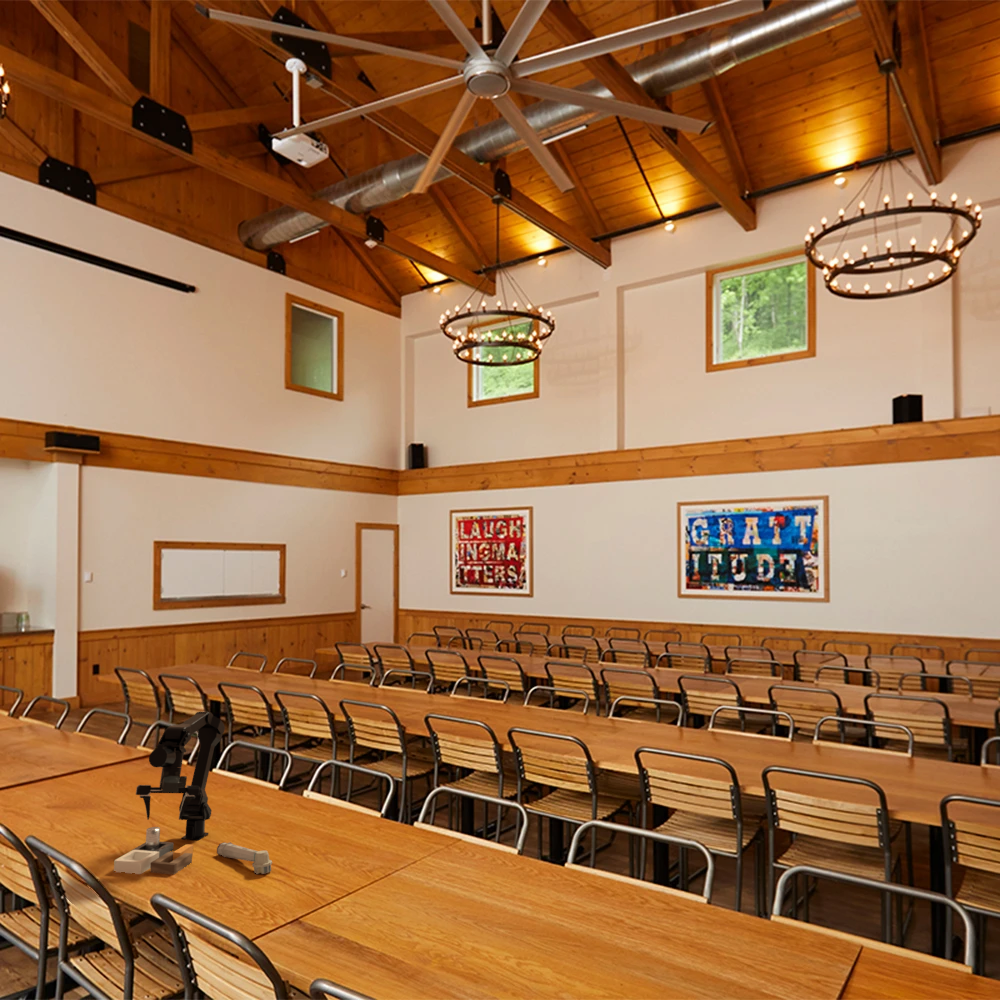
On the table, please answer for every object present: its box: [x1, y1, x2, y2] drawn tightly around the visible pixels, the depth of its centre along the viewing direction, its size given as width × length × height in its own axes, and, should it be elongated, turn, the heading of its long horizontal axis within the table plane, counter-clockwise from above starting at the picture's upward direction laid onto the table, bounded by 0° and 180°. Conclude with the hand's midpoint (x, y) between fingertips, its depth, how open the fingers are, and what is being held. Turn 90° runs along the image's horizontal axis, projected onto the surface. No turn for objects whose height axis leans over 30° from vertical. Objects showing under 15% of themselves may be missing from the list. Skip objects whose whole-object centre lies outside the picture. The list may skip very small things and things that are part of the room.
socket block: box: [130, 841, 174, 857], centre depth 248 cm, size 9×9×2 cm
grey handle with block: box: [216, 841, 273, 875], centre depth 241 cm, size 5×7×25 cm
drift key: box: [172, 843, 194, 860], centre depth 244 cm, size 7×2×4 cm, turn 169°
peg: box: [145, 826, 161, 851], centre depth 248 cm, size 4×4×8 cm
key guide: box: [149, 851, 193, 876], centre depth 238 cm, size 9×8×3 cm
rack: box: [113, 849, 159, 875], centre depth 238 cm, size 9×9×4 cm
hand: (163, 819), depth 243 cm, fingers open, 9 cm apart
